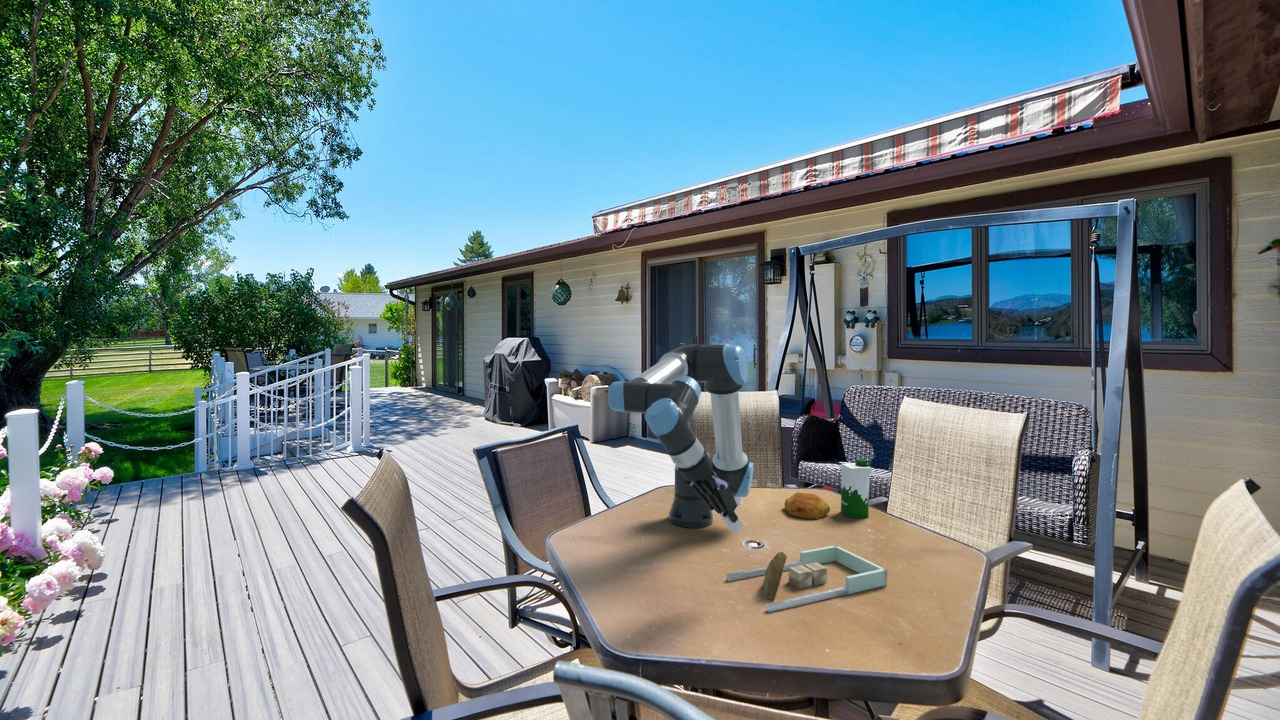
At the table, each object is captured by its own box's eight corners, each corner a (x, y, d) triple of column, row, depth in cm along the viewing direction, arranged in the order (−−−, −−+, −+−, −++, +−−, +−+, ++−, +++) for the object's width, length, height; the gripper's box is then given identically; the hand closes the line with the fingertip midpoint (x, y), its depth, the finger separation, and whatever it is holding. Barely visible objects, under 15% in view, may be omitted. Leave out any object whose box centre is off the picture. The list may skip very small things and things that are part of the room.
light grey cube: (799, 589, 138) (799, 573, 138) (788, 582, 141) (789, 567, 141) (811, 586, 139) (811, 571, 139) (800, 580, 143) (801, 565, 143)
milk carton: (872, 518, 194) (874, 462, 193) (847, 518, 193) (849, 462, 192) (860, 510, 203) (862, 457, 202) (836, 510, 202) (838, 457, 201)
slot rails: (769, 612, 125) (769, 605, 125) (726, 580, 142) (726, 574, 142) (848, 594, 135) (848, 588, 135) (799, 565, 152) (799, 560, 152)
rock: (781, 597, 128) (802, 580, 135) (762, 564, 131) (783, 549, 137) (753, 608, 135) (774, 591, 142) (735, 577, 138) (757, 562, 144)
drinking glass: (746, 503, 209) (747, 477, 209) (737, 506, 205) (737, 480, 204) (731, 499, 214) (732, 474, 214) (722, 502, 209) (722, 477, 209)
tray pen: (848, 594, 135) (848, 578, 135) (799, 565, 152) (800, 551, 151) (886, 585, 140) (887, 570, 140) (835, 559, 157) (835, 545, 157)
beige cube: (814, 585, 140) (815, 570, 140) (803, 579, 143) (804, 564, 143) (826, 583, 141) (827, 568, 141) (815, 576, 145) (816, 562, 145)
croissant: (792, 510, 209) (790, 489, 209) (834, 513, 199) (831, 490, 200) (777, 519, 197) (775, 496, 197) (821, 522, 188) (819, 498, 188)
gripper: (663, 467, 128) (710, 536, 136) (701, 472, 118) (750, 546, 125) (680, 445, 132) (726, 513, 140) (719, 448, 122) (766, 521, 129)
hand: (737, 529), depth 133 cm, fingers closed
